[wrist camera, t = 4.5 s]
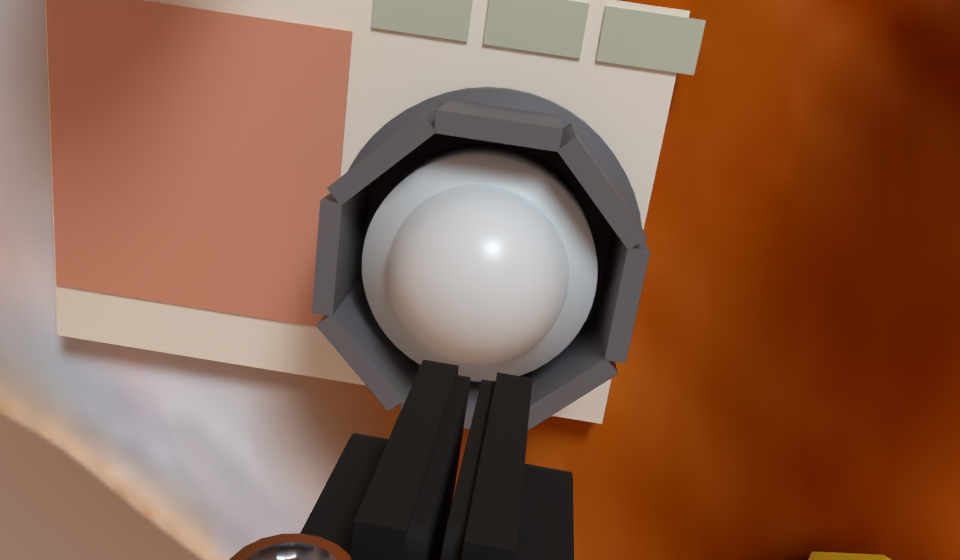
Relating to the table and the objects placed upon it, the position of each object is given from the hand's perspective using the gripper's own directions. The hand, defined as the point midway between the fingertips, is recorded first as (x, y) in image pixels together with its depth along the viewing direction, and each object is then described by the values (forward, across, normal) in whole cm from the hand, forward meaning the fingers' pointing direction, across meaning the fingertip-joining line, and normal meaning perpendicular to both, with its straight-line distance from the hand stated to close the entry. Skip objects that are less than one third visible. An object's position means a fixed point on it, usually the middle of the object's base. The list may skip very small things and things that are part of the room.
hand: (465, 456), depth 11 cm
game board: (+15, +6, 0) cm, 16 cm away
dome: (+13, +1, +1) cm, 13 cm away
